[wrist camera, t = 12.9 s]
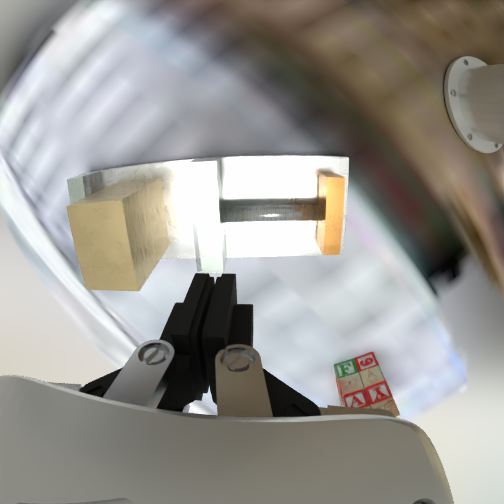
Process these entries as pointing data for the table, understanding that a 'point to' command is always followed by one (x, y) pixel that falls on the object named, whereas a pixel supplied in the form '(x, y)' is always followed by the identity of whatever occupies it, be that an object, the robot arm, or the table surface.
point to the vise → (234, 200)
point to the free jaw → (255, 213)
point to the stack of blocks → (364, 384)
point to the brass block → (120, 234)
